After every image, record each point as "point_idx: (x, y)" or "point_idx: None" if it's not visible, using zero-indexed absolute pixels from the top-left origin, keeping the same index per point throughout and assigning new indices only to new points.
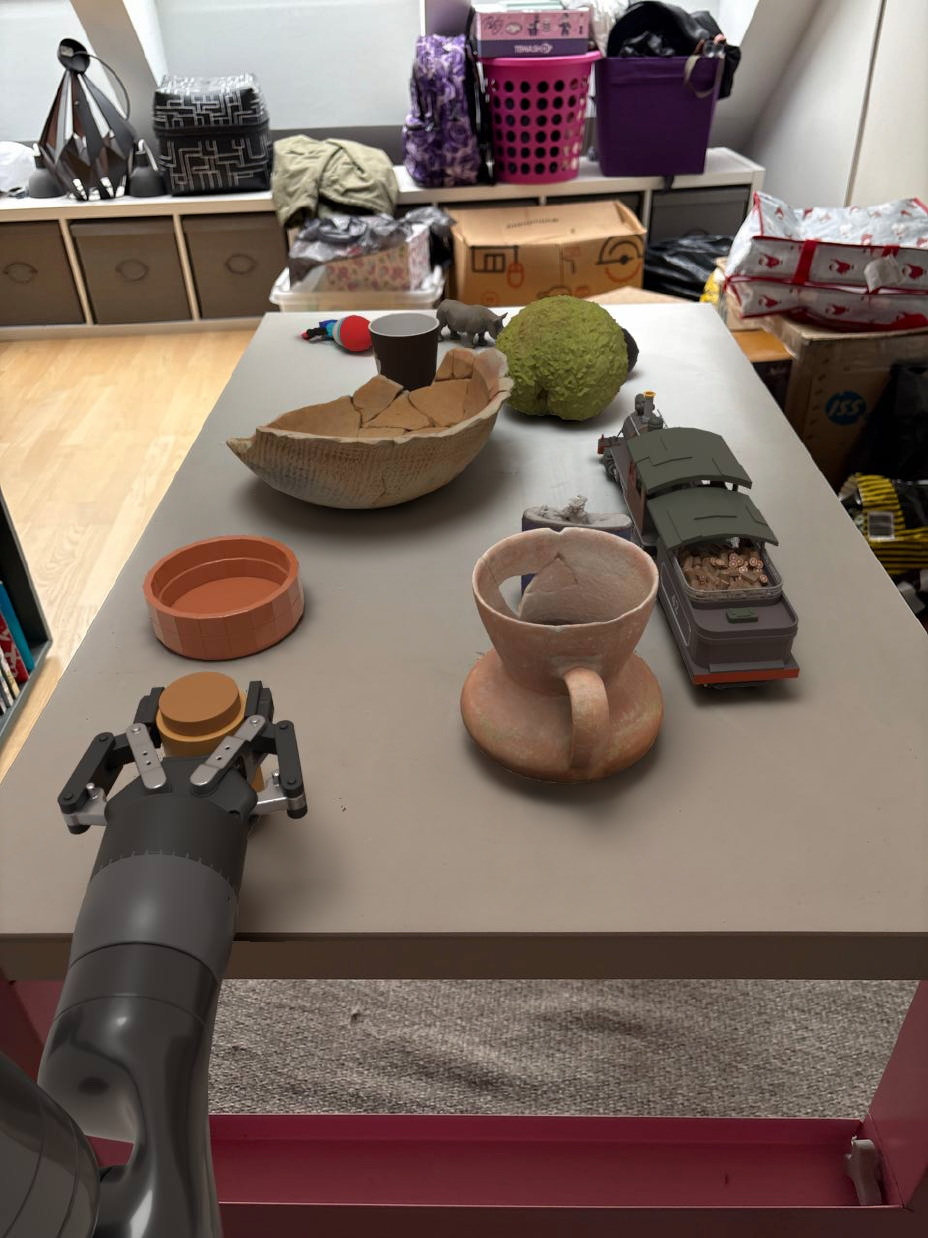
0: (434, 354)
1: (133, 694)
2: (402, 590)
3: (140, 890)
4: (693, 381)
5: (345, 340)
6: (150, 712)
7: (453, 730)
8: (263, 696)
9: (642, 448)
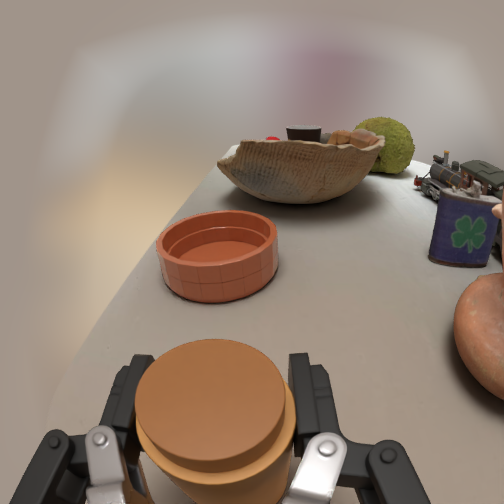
0: (319, 141)
1: (144, 329)
2: (345, 251)
3: None
4: (427, 167)
5: None
6: (125, 405)
7: (439, 367)
8: (317, 382)
9: (474, 167)
